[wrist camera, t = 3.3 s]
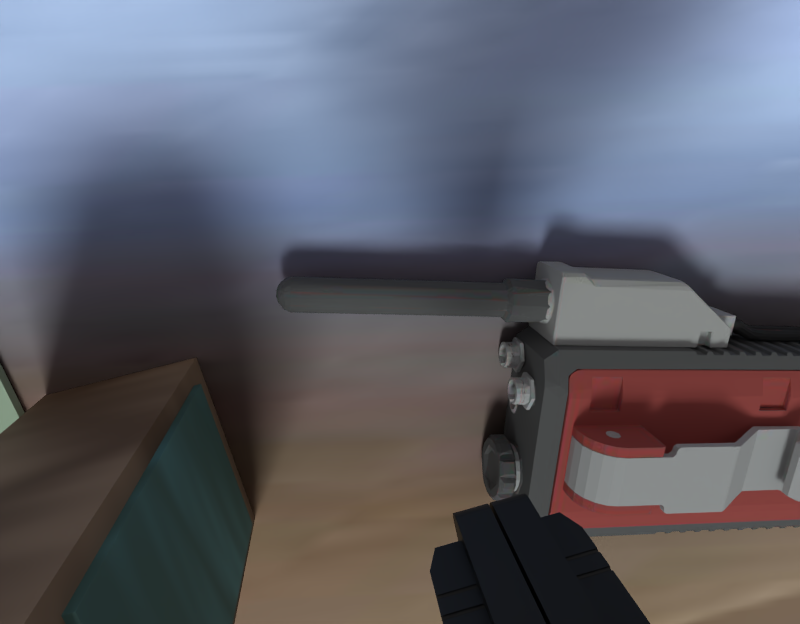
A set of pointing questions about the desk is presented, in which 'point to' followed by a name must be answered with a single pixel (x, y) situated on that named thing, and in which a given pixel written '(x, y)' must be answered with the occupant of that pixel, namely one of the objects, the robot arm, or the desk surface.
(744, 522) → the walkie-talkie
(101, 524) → the brown teal box
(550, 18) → the desk surface
